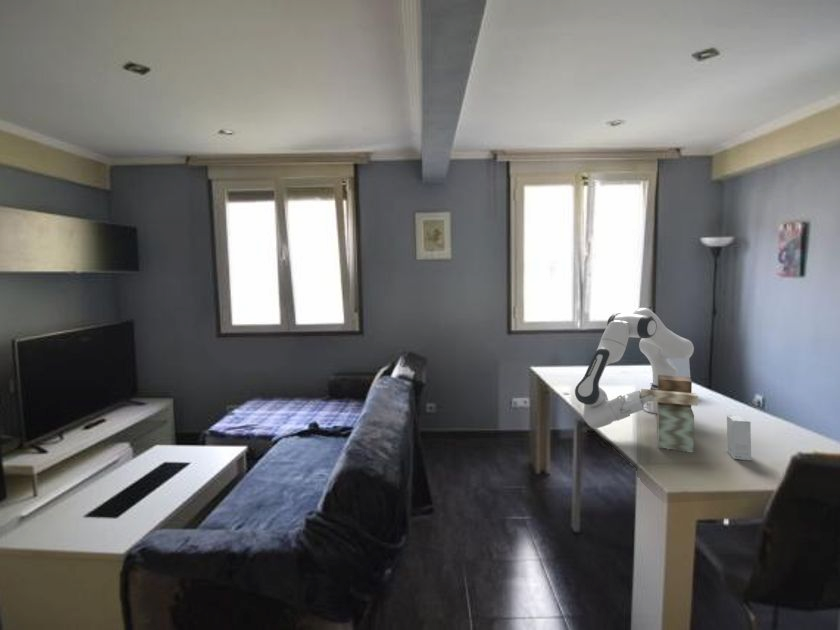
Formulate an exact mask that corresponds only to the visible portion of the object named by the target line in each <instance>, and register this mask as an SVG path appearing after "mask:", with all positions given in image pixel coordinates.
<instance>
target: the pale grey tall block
mask: <svg viewBox="0 0 840 630" xmlns="http://www.w3.org/2000/svg"><path fill="white" fill-rule="evenodd" d="M667 361H668V362H669V363H670V364H671V365H672V366H674V367H675V368H676V370H677V372H678V375H677V376H681V377H690V378H691V367H690V358H688V359H670V358H667Z"/></svg>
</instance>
